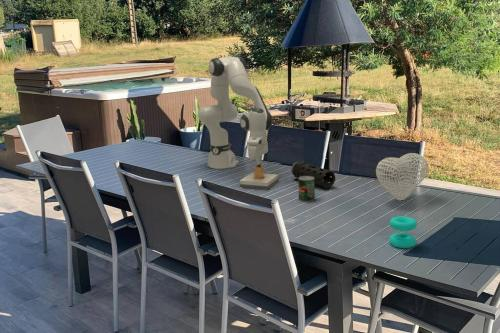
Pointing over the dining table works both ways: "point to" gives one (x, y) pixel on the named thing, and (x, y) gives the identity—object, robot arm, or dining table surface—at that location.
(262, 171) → the plug
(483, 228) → the dining table surface
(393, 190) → the heart
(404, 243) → the donuts
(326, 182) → the muzzle brake
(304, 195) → the canned tomato
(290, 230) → the dining table surface
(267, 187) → the socket block
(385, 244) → the dining table surface
